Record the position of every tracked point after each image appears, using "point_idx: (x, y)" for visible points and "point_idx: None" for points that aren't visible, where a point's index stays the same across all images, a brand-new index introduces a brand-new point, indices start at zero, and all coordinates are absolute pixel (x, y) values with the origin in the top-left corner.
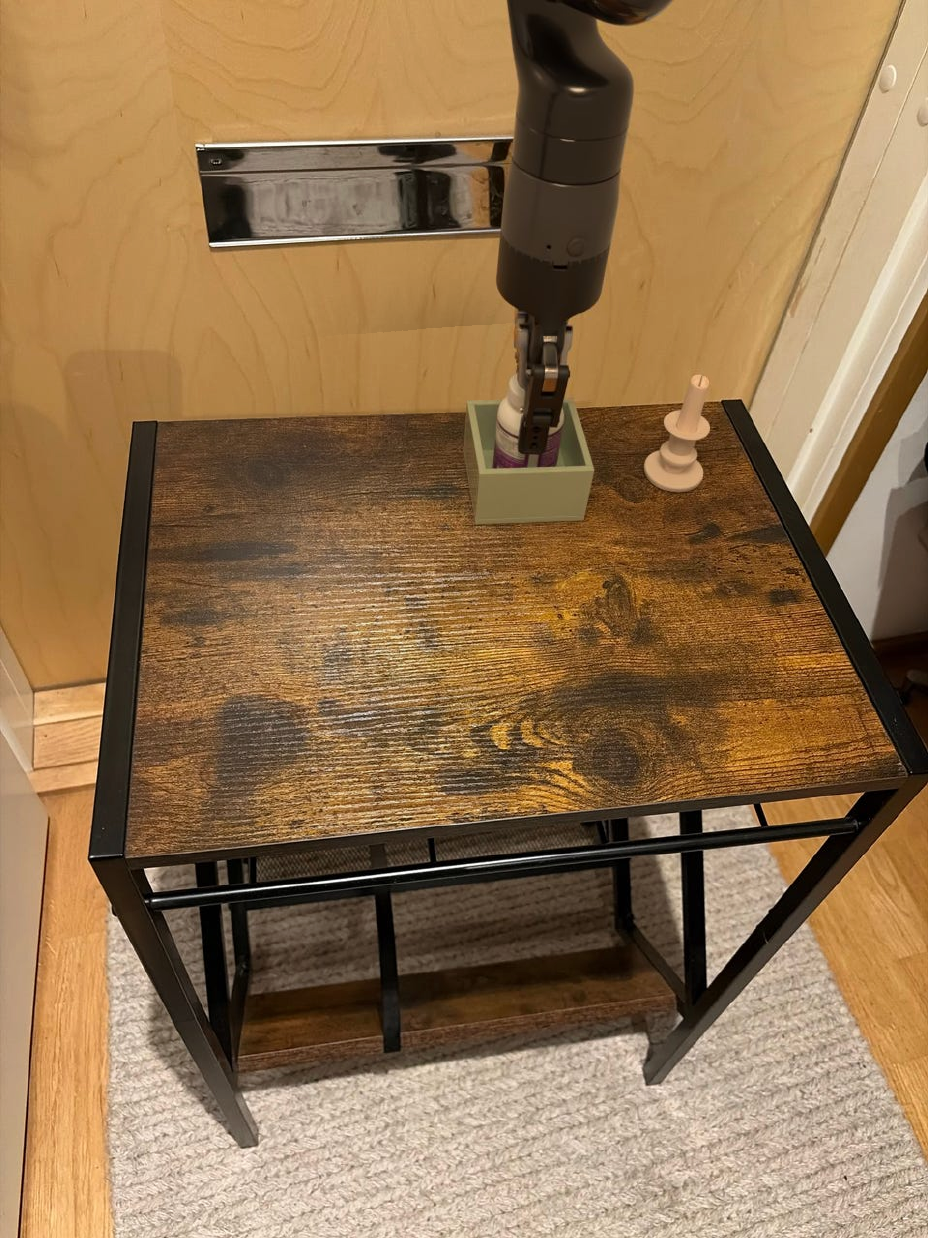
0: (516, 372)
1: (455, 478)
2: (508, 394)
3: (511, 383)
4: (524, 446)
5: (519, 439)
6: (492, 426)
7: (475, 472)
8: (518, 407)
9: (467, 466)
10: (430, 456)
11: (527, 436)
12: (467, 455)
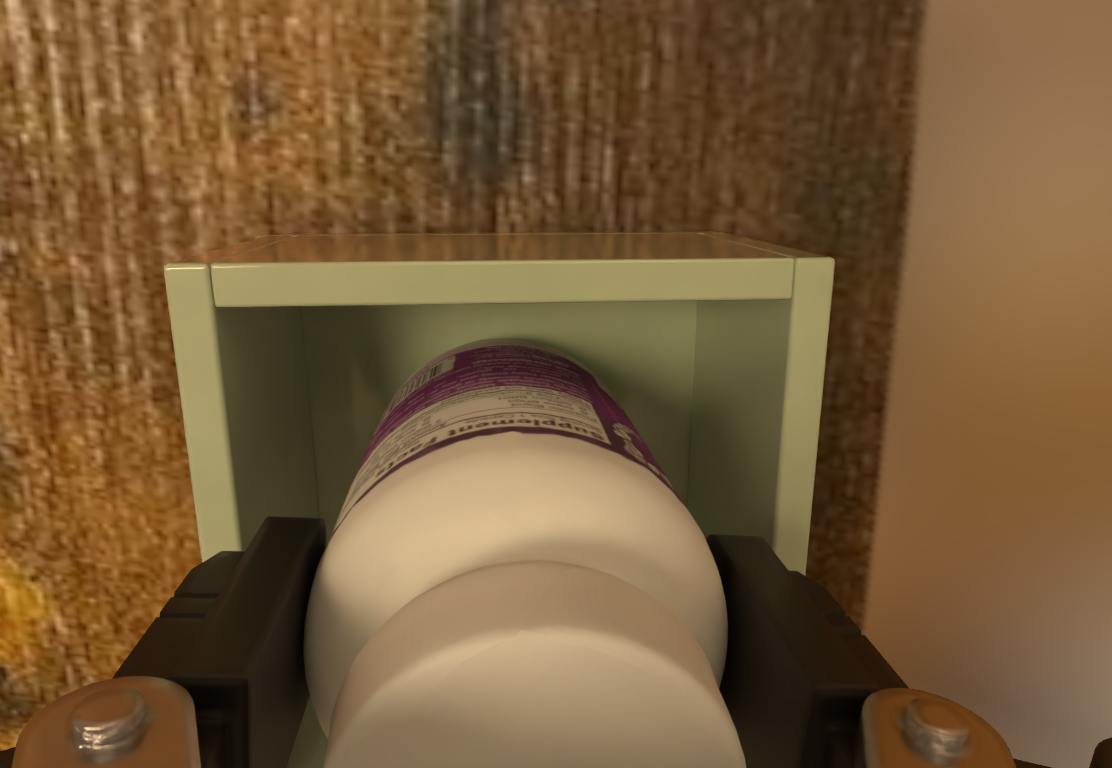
0: (836, 643)
1: (557, 181)
2: (519, 579)
3: (551, 650)
4: (215, 571)
5: (243, 555)
6: (733, 375)
7: (327, 251)
8: (379, 631)
9: (574, 235)
10: (703, 84)
11: (150, 634)
12: (606, 238)
